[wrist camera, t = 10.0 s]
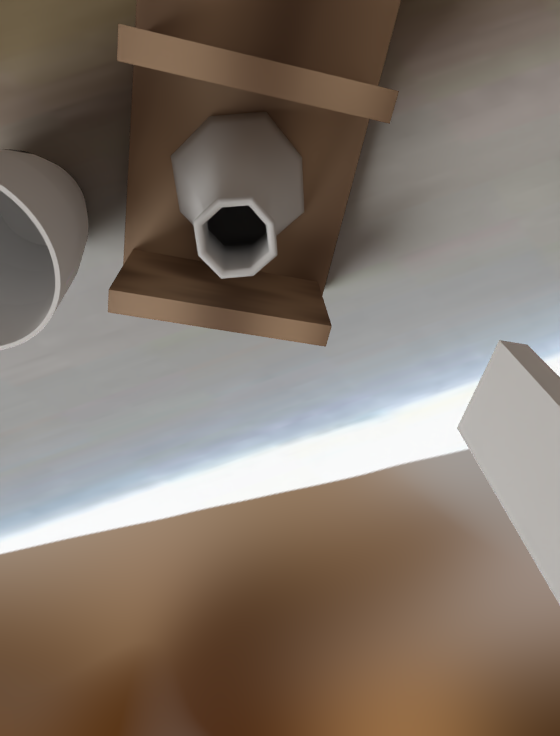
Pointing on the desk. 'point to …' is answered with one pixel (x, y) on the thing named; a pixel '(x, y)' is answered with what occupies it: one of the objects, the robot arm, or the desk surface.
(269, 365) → the desk surface
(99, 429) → the desk surface
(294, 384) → the desk surface
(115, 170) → the desk surface
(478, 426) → the robot arm
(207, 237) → the flask
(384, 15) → the rack
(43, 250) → the cup
